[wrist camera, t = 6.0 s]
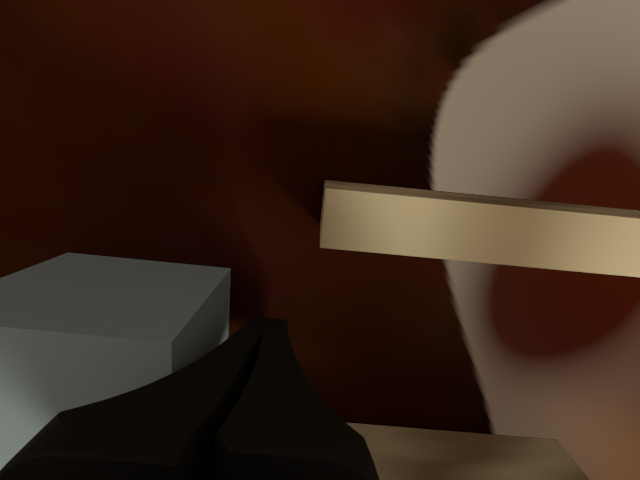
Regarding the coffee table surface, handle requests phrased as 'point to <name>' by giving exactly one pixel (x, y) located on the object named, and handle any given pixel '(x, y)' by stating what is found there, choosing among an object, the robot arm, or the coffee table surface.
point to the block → (99, 333)
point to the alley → (485, 247)
